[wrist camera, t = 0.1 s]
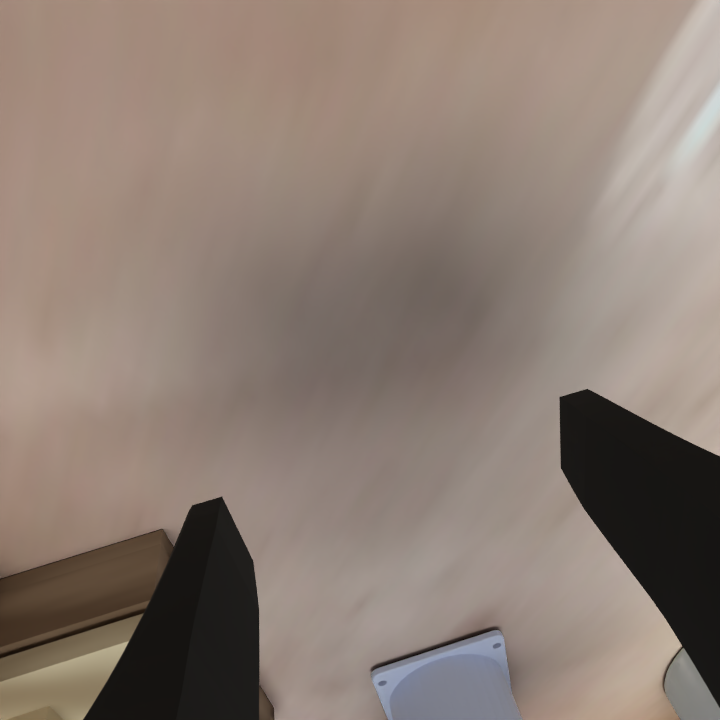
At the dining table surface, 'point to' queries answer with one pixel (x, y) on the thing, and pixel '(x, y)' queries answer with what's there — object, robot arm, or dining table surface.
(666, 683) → the utensil holder
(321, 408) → the dining table surface
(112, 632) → the lid
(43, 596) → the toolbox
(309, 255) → the dining table surface
